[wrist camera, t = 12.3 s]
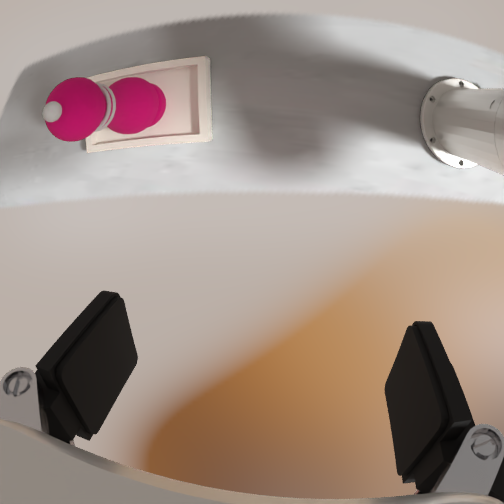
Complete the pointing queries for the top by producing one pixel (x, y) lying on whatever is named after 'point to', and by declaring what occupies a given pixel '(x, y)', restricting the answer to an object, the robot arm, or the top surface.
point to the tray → (177, 105)
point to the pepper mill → (102, 107)
